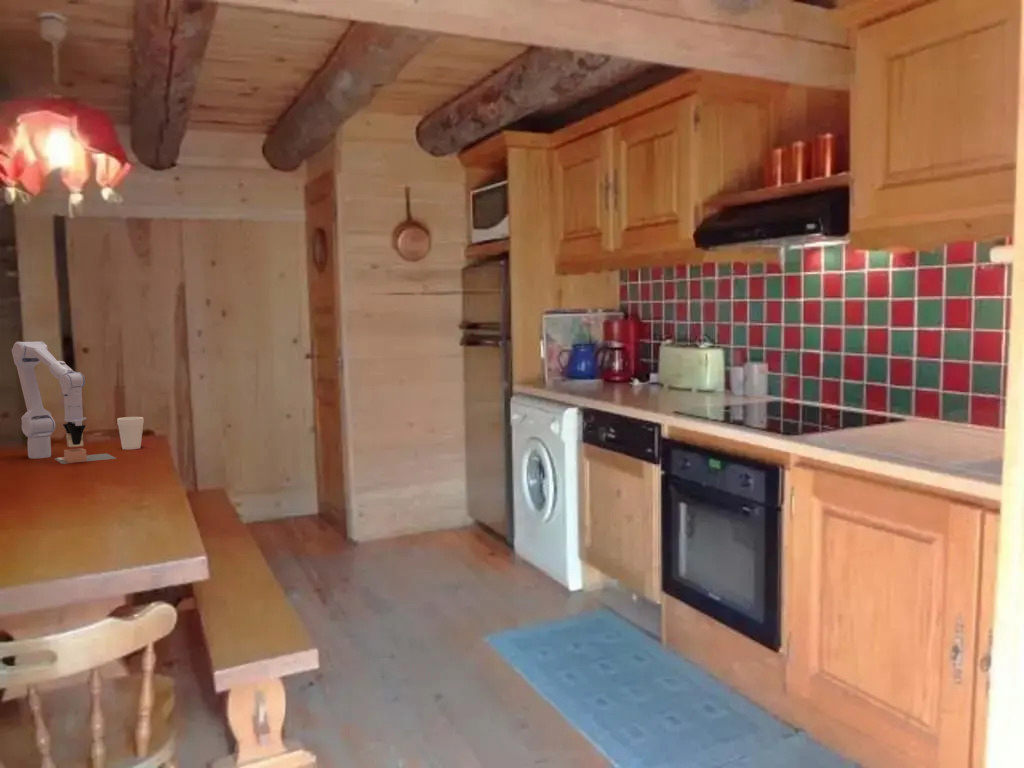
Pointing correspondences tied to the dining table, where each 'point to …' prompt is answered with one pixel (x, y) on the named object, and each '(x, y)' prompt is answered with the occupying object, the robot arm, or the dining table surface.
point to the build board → (92, 458)
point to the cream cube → (70, 443)
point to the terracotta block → (75, 455)
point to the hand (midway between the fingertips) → (74, 443)
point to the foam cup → (130, 431)
